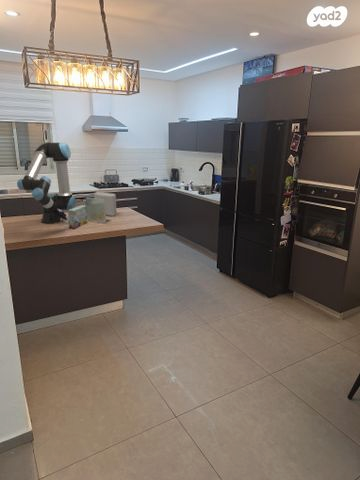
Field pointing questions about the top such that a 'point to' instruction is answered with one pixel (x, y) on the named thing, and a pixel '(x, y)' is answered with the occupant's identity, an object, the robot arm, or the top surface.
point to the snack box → (77, 216)
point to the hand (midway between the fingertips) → (67, 221)
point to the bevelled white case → (108, 202)
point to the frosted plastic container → (96, 210)
